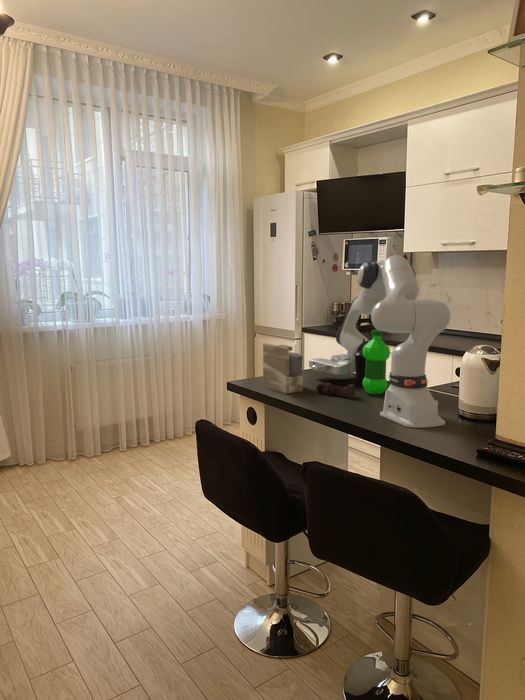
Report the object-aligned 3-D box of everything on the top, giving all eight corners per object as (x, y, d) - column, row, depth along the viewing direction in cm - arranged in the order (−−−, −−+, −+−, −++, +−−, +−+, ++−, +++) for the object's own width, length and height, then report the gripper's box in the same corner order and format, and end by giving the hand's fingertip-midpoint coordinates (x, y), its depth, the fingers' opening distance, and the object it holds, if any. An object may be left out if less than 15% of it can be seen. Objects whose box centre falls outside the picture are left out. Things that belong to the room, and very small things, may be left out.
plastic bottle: (363, 396, 207) (365, 332, 203) (360, 389, 217) (362, 328, 213) (389, 396, 206) (392, 332, 202) (385, 390, 217) (387, 328, 212)
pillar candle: (274, 386, 224) (274, 350, 221) (294, 383, 228) (294, 348, 226) (286, 391, 215) (286, 354, 213) (306, 388, 220) (307, 352, 217)
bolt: (318, 396, 214) (353, 401, 206) (313, 393, 210) (349, 397, 202) (321, 383, 216) (356, 386, 207) (316, 379, 212) (352, 382, 203)
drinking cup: (351, 387, 221) (353, 339, 217) (354, 383, 228) (355, 337, 225) (370, 389, 219) (372, 340, 215) (372, 384, 226) (374, 337, 222)
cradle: (280, 383, 228) (280, 341, 225) (303, 391, 215) (304, 346, 212) (263, 385, 224) (263, 343, 221) (285, 393, 210) (285, 348, 207)
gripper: (323, 354, 243) (299, 357, 235) (355, 361, 226) (329, 364, 218) (323, 367, 244) (299, 371, 236) (354, 376, 227) (329, 380, 219)
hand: (314, 368), depth 227 cm, fingers closed
